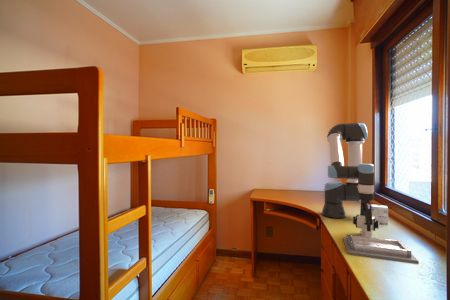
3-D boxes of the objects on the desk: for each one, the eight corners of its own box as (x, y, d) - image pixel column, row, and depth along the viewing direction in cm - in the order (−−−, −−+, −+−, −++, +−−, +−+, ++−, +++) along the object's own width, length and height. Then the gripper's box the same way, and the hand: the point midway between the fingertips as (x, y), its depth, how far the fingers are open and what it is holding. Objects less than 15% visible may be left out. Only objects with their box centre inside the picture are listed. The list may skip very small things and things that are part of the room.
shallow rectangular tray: (346, 239, 121) (346, 234, 121) (401, 245, 113) (401, 240, 112) (350, 249, 109) (350, 243, 109) (411, 257, 101) (411, 251, 101)
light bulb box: (387, 222, 153) (387, 205, 153) (388, 225, 147) (388, 207, 147) (368, 219, 158) (368, 203, 158) (368, 222, 152) (368, 205, 152)
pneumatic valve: (354, 233, 133) (354, 211, 132) (379, 238, 125) (379, 215, 125) (352, 236, 128) (352, 214, 128) (378, 241, 121) (378, 217, 121)
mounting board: (342, 238, 124) (342, 237, 124) (402, 245, 115) (402, 243, 115) (348, 253, 106) (348, 251, 106) (418, 263, 97) (418, 261, 97)
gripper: (354, 188, 139) (354, 226, 139) (362, 195, 117) (362, 240, 118) (369, 189, 136) (369, 227, 136) (379, 196, 115) (379, 242, 115)
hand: (365, 233), depth 127 cm, fingers open, 10 cm apart
